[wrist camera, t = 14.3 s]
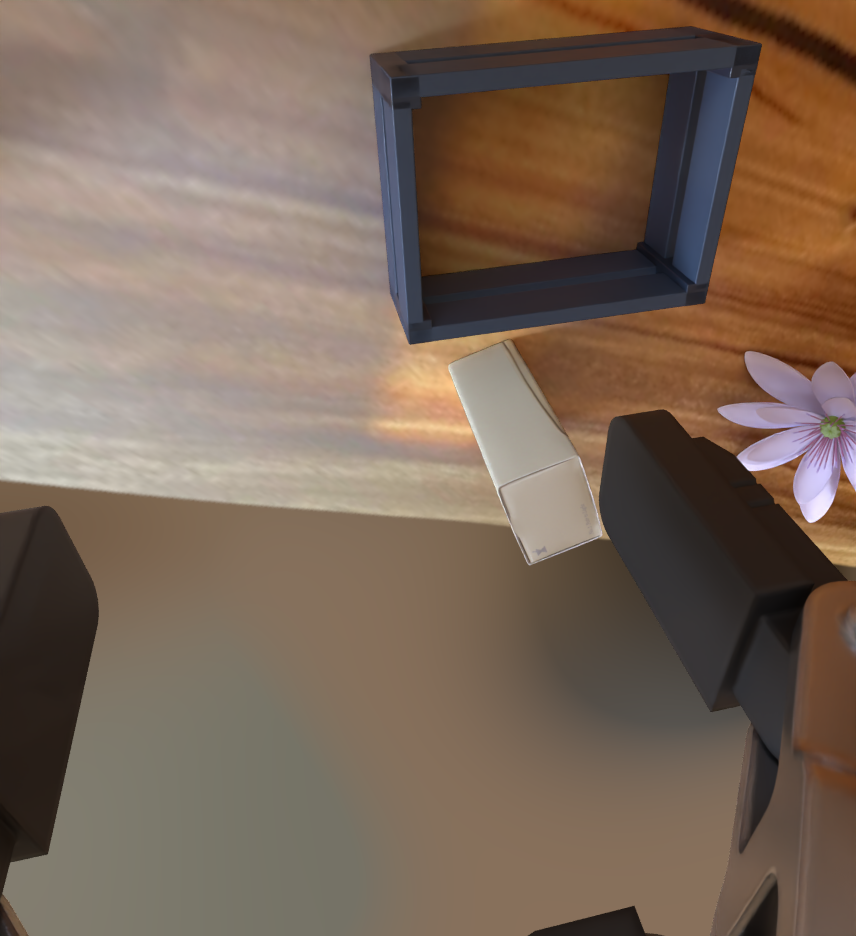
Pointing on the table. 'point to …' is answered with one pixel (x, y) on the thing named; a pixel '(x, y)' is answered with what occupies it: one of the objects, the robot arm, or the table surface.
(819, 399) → the water lily
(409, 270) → the crate
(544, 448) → the cosmetic box
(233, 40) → the table surface
